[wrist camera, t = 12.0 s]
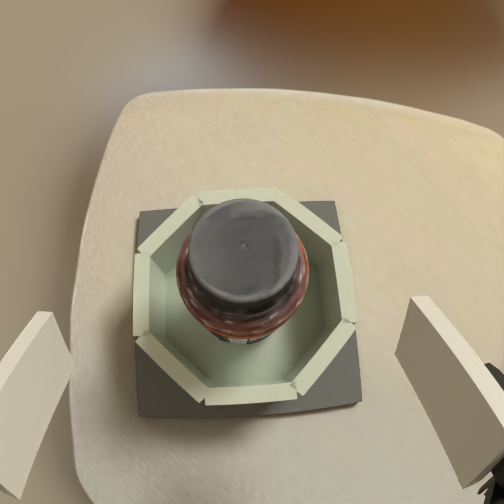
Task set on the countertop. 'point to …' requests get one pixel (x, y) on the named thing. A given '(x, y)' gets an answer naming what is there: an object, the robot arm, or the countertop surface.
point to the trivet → (185, 406)
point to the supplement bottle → (242, 270)
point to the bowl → (246, 355)
